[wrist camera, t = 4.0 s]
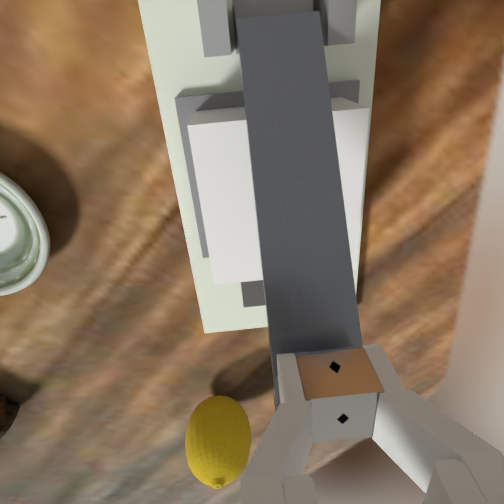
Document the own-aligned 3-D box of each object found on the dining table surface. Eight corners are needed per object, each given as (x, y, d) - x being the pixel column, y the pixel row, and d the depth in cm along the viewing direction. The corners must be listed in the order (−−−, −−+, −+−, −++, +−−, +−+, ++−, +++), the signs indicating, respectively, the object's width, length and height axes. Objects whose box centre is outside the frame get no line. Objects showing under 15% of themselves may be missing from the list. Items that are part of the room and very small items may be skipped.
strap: (238, 61, 15) (236, 18, 12) (308, 54, 15) (319, 10, 12) (275, 411, 14) (280, 439, 11) (351, 403, 14) (373, 429, 11)
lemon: (201, 419, 35) (194, 511, 28) (181, 383, 32) (169, 475, 25) (254, 408, 34) (261, 498, 27) (239, 370, 31) (243, 460, 24)
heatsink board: (130, -58, 17) (71, -126, 10) (379, -81, 17) (470, -161, 10) (205, 324, 28) (199, 400, 22) (350, 309, 29) (384, 381, 22)
